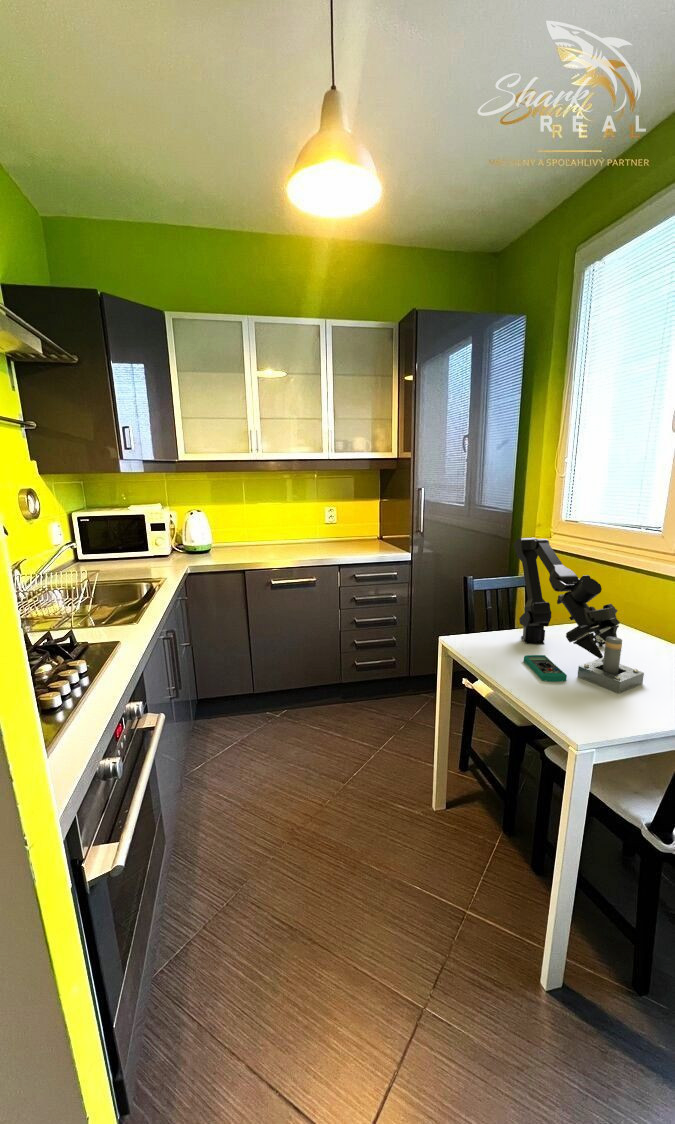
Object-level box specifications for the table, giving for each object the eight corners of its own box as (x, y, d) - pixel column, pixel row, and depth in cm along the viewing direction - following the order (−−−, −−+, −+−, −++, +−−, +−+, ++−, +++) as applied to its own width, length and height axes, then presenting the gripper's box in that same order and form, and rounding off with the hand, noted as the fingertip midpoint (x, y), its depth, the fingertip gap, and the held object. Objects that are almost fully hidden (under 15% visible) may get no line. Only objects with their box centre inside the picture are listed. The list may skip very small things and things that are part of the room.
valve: (591, 635, 162) (589, 645, 152) (593, 618, 161) (591, 627, 151) (611, 638, 159) (611, 649, 149) (613, 621, 157) (613, 631, 148)
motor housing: (577, 676, 128) (578, 664, 127) (601, 668, 134) (602, 656, 133) (618, 693, 118) (620, 680, 117) (642, 683, 123) (644, 670, 122)
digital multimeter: (542, 683, 125) (543, 674, 125) (522, 662, 140) (523, 653, 139) (567, 683, 125) (568, 674, 125) (544, 662, 140) (545, 653, 139)
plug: (605, 682, 124) (609, 641, 122) (598, 676, 128) (603, 636, 126) (620, 683, 123) (625, 641, 121) (613, 677, 127) (618, 636, 125)
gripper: (579, 600, 122) (614, 649, 114) (616, 591, 130) (651, 637, 123) (552, 618, 130) (583, 665, 123) (589, 609, 139) (620, 652, 131)
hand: (610, 654), depth 125 cm, fingers open, 9 cm apart
